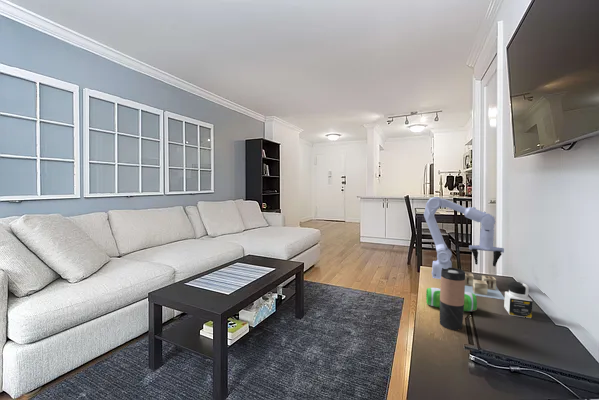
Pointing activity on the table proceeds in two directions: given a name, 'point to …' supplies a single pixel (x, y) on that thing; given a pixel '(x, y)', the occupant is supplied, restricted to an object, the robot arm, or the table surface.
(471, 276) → the one bar block
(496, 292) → the mat
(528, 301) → the medicine bottle
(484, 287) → the plain block
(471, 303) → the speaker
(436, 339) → the table surface
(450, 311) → the travel mug
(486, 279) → the two bar block
